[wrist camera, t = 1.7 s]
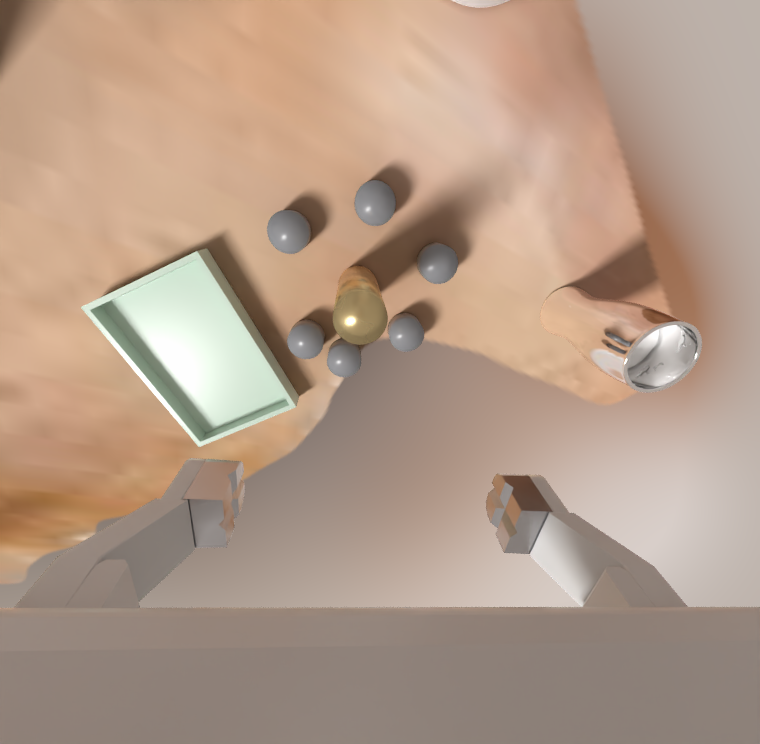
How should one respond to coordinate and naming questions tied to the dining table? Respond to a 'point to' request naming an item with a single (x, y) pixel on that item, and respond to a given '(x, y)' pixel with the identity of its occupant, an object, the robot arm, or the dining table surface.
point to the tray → (195, 348)
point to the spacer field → (404, 329)
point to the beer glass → (624, 338)
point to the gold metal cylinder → (359, 307)
